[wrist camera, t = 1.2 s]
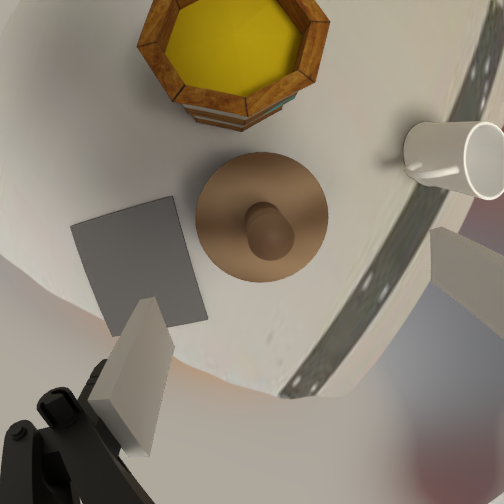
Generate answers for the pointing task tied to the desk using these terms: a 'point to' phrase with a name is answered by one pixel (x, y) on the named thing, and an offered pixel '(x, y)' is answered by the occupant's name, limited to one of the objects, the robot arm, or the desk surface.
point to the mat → (140, 264)
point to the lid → (261, 217)
